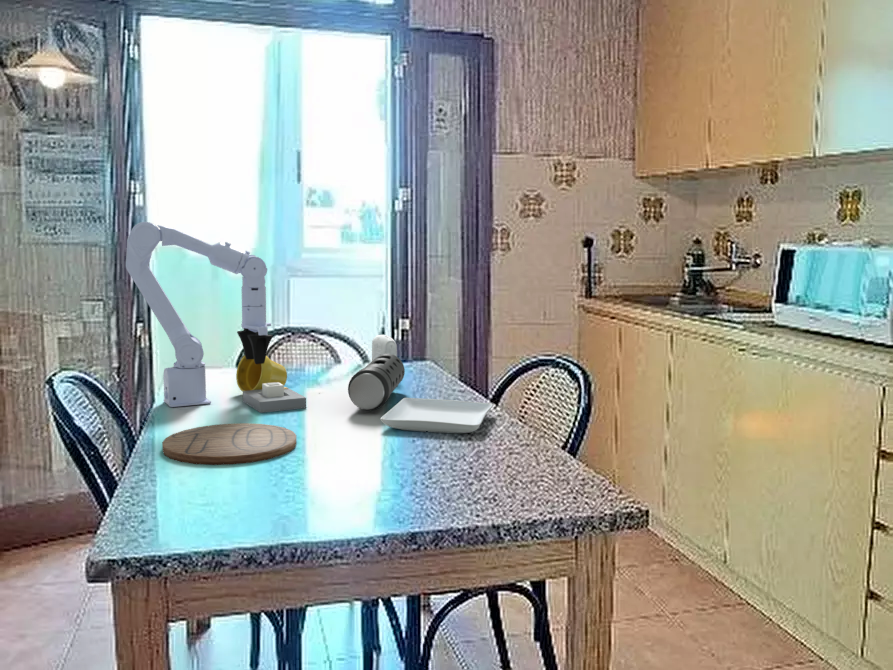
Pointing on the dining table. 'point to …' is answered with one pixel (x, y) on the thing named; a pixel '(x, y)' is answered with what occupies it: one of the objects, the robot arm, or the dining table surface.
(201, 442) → the trivet
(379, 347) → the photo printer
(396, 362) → the muzzle brake
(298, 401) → the socket plate
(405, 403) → the salad plate
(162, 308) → the robot arm
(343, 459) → the dining table surface
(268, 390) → the plug block
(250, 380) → the plant pot
